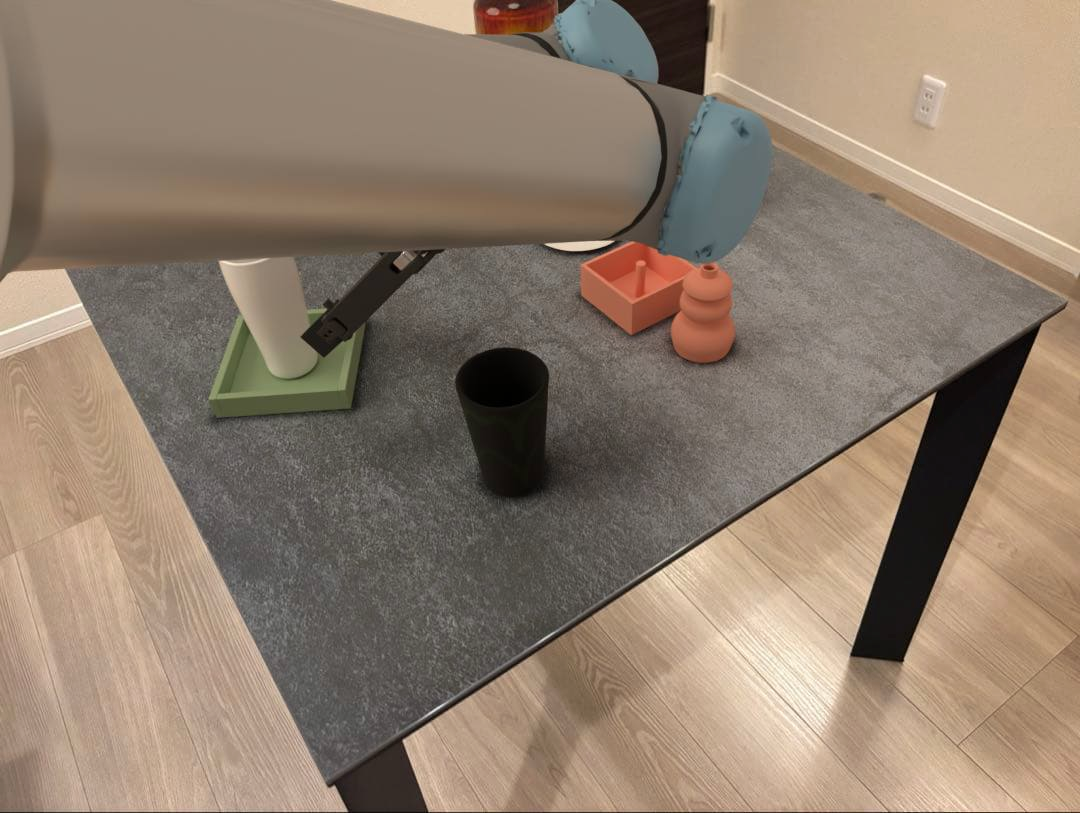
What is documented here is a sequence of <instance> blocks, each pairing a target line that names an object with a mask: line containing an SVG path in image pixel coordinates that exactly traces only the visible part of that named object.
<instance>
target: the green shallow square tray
mask: <svg viewBox="0 0 1080 813" xmlns="http://www.w3.org/2000/svg"><path fill="white" fill-rule="evenodd" d="M326 310H327V309H326V308H325V307H324V308H311V309H307V311H308V316H309V321H310V325H312V324H313V323H314V322H315V321H316V320H317V319H318V318H319V317H320V316H321V315H322V314H323V313H324V312H325V311H326ZM366 325H367V324H366V322H365V323H364V324H363V325H362V326H361V327H360V328H359V329H358V330H357V331H356V332H355V333H354V334H353V337H352V338H351V339H350V340H348V341H347V342H346V341H345V342H344V341H342V342H341V343H340V344H339V345H338V346H337V347H336V348H335V349H333V350H332V351H331V352H330V353H329V354H328V355H327V356H326V357H325V358H323V357H322V356H321V355H320V354H319V353H318V361H317V363H316V365H315V366H314V368H313V369H312V370H311V371H309V372H308V373H306V374H305V375H303V376H300V377H297V378H292V379H283V378H279V377H276V376H274V375H273V374H272V373H271V372H270V371H269V370H268V368H267V365H266V363H265V360H264V358H263V356H262V354H261V352H260V350H259V348H258V346H257V344H256V342H255V340H254V338H253V336H252V334H251V332H250V330H249V328H248V326H247V324H246V322H245V320H244V319H243V317H242V315H241V314H238V315H237V317H236V320H235V323H234V326H233V329H232V332H231V335H230V337H229V340H228V343H227V345H226V349H225V350H224V351H225V352H224V354H223V357H222V359H221V362H220V366H219V368H218V371H217V374H216V377H215V379H214V382H213V385H212V389H211V391H210V392H209V393H210V394H209V396H208V400H207V401H208V402H209V405H210V406H211V409H212V411H213V413H214V415H215V417H216V418H217V419H220V418H221V419H222V418H223V419H224V418H235V417H236V418H237V417H249V416H250V417H251V416H263V415H278V414H293V413H294V414H295V413H305V412H307V413H308V412H321V411H334V410H346V409H347V410H348V409H352V404H353V399H354V393H355V386H356V382H357V376H358V370H359V363H360V358H361V354H362V347H363V341H364V336H365V329H366Z"/></svg>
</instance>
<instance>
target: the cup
mask: <svg viewBox="0 0 1080 813" xmlns="http://www.w3.org/2000/svg"><path fill="white" fill-rule="evenodd" d="M549 384H550V372H549V368H548V366H547V364H546V363H545V362H544V360H543V359H542V358H540V357H539V356H538V355H536V354H535V353H533V352H530V351H529V350H526V349H522V348H519V347H508V346H505V347H495V348H490V349H486V350H483V351H481V352H479V353H477V354H475V355H473V356H471V357H470V358H468V359H467V360H466V361H465V362H464V363H463V364H462V365H461V366H460V367H459V369H458V371H457V373H456V375H455V380H454V385H455V390H456V394H457V397H458V401H459V403H460V407H461V410H462V413H463V416H464V420H465V423H466V426H467V430H468V433H469V436H470V440H471V443H472V446H473V450H474V453H475V455H476V456H475V457H476V459H477V462H478V465H479V469H480V472H481V476H482V478H483V482H484V484H485V487H487V488H488V490H489V491H490V492H492V493H493V494H494V495H497V496H500V497H502V498H512V499H513V498H520V497H524V496H527V495H529V494H531V493H533V492H534V491H536V490H537V489H538V488H539V487H540V486H541V484H542V482H543V480H544V476H545V463H546V462H545V461H546V446H547V444H546V442H547V425H548V404H549V403H548V402H549V388H550V385H549Z"/></svg>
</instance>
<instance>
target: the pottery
mask: <svg viewBox="0 0 1080 813" xmlns="http://www.w3.org/2000/svg"><path fill="white" fill-rule="evenodd" d="M579 267H580V268H579V269H580V294H581V295H580V296H581V297H582V298H584V299H585V300H586V301H587V302H589V303H590V304H591V305H593V306H594V307H595V308H596V309H597V310H599V311H600V312H601V313H603V315H605V316H606V317H608V318H609V319H610V320H611V321H613V322H614V323H615V324H616V325H617V326H619V327H620V328H622V329H623V330H624V331H625V332H626V333H627V334H629V335H630V336H634V335H636V334H638V333H640V332H641V331H644V330H645V329H647V328H649V327H651V326H653V325H655V324H657V323H659V322H661V321H663V320H665V319H667V318H668V317H671V316H673V315H675V314H676V315H675V317H674V318H673V320H672V323H671V327H670V337H671V341H672V345H673V349H674V351H675V353H677V355H679V356H680V357H681V358H682V359H685V360H687V361H690V362H694V363H701V364H702V363H703V364H704V363H706V364H708V363H714V362H717V361H719V360H721V359H724V357H726V356H727V355H728V353H729V352H730V349H731V348H732V346H733V343H734V341H735V337H736V327H735V324H734V320H733V318H732V317H731V315H730V312H731V310H732V308H733V298H732V294H731V293H732V292H733V289H734V288H733V287H734V284H733V279H732V277H731V276H730V275H729V274H728V273H727V272H726V271H724V270H722V269H721V268H719V265H718V263H716V262H713V263H708V264H700V267H696V266H695V265H693V264H692V263H690V262H689V261H688V260H686V259H682V258H679V257H675V256H672V255H667V256H663V255H661V254H659V253H658V250H656V249H653V248H651V247H649V246H646V245H644V244H641V243H637V242H633V241H629V242H627V243H625V244H623V245H620V246H619V247H616V248H614V249H612V250H610V251H608V252H606V253H603V254H601V255H599V256H596V257H595V258H591V259H590V260H588V261H586V262H583V263H581V264H580V266H579Z"/></svg>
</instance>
